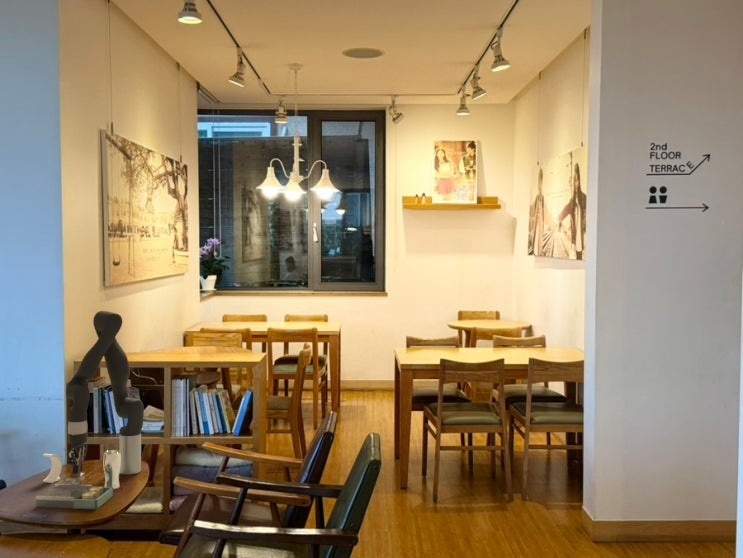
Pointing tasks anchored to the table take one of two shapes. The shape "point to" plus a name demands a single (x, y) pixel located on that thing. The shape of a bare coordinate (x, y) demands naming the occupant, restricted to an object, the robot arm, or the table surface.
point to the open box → (62, 496)
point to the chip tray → (94, 503)
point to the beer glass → (112, 468)
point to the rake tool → (76, 477)
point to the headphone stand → (54, 468)
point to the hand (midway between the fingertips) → (77, 472)
